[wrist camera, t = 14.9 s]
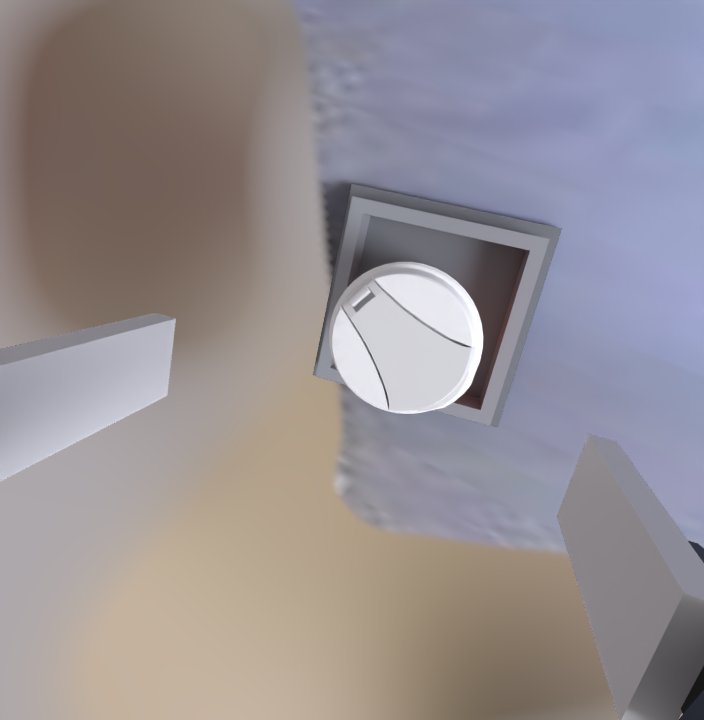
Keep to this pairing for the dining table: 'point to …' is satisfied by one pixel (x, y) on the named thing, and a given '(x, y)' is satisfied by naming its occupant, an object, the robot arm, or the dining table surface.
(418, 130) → the dining table surface
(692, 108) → the dining table surface
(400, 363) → the coffee cup
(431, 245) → the tray
